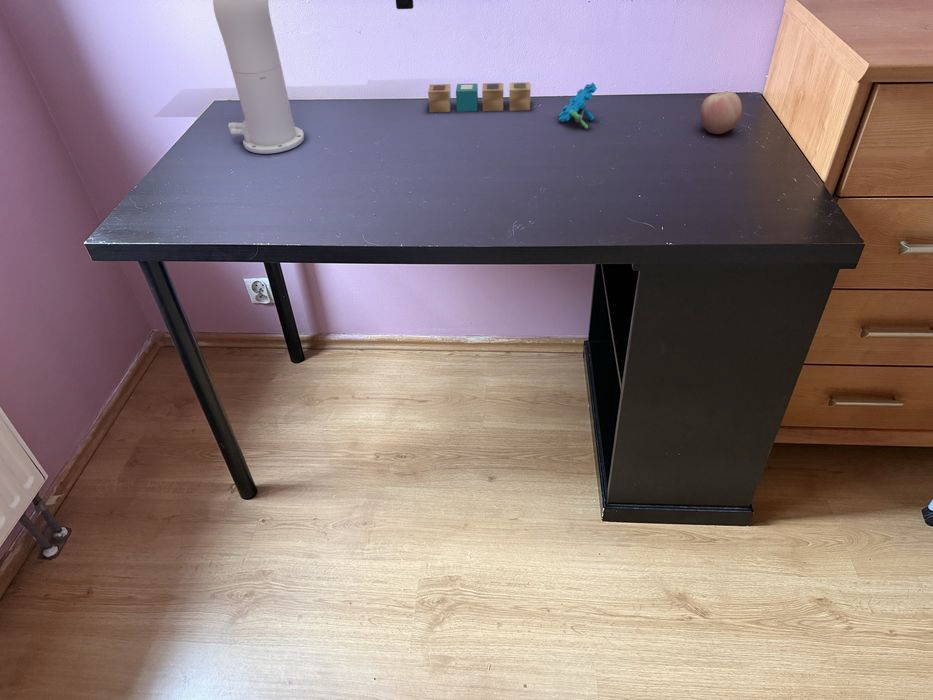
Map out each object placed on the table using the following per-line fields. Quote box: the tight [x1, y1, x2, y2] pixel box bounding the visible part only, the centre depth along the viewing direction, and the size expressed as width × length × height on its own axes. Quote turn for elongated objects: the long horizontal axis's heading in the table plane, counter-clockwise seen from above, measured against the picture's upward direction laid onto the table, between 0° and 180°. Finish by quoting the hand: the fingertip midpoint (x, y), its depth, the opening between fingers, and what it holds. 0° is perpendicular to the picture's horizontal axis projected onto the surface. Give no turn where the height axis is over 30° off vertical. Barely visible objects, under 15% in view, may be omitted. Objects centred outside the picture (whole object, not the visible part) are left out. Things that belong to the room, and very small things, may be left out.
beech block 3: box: [508, 81, 531, 112], centre depth 147 cm, size 5×5×5 cm
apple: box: [699, 90, 743, 135], centre depth 132 cm, size 8×8×8 cm
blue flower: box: [558, 82, 598, 130], centre depth 140 cm, size 11×6×10 cm
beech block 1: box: [427, 83, 452, 113], centre depth 149 cm, size 5×5×5 cm
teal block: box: [455, 83, 479, 113], centre depth 148 cm, size 5×5×5 cm
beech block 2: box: [481, 82, 504, 112], centre depth 148 cm, size 5×5×5 cm
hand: (408, 1), depth 128 cm, fingers open, 9 cm apart
